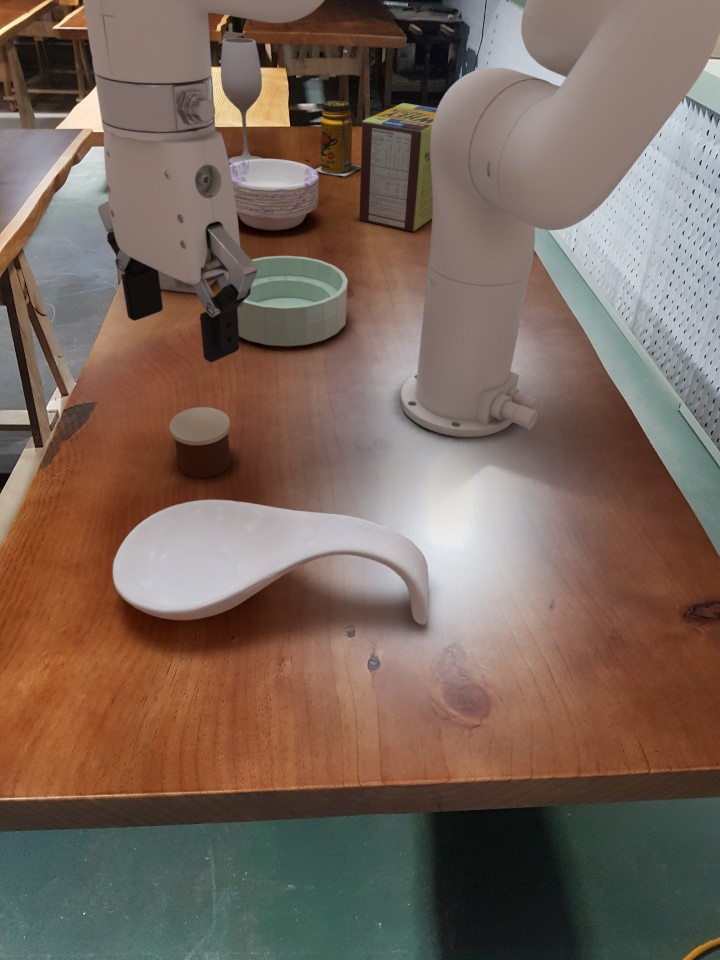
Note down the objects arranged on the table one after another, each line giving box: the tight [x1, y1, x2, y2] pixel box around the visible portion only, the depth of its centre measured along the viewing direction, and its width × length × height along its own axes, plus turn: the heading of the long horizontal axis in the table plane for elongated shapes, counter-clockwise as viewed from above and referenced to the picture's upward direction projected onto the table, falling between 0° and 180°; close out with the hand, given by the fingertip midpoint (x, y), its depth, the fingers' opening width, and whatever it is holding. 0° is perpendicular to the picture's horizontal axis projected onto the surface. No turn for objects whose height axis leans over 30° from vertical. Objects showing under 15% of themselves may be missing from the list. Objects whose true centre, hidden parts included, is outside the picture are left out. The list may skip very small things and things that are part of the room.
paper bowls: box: [229, 158, 320, 231], centre depth 115 cm, size 15×15×8 cm
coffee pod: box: [168, 406, 231, 479], centre depth 66 cm, size 5×5×4 cm
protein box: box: [358, 102, 438, 233], centre depth 118 cm, size 10×15×16 cm
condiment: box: [314, 100, 361, 177], centre depth 138 cm, size 7×8×12 cm
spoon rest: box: [112, 499, 429, 625], centre depth 53 cm, size 24×12×7 cm, turn 86°
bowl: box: [237, 255, 349, 347], centre depth 89 cm, size 15×15×6 cm
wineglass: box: [220, 37, 264, 165], centre depth 137 cm, size 8×8×21 cm
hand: (182, 334), depth 59 cm, fingers open, 9 cm apart
